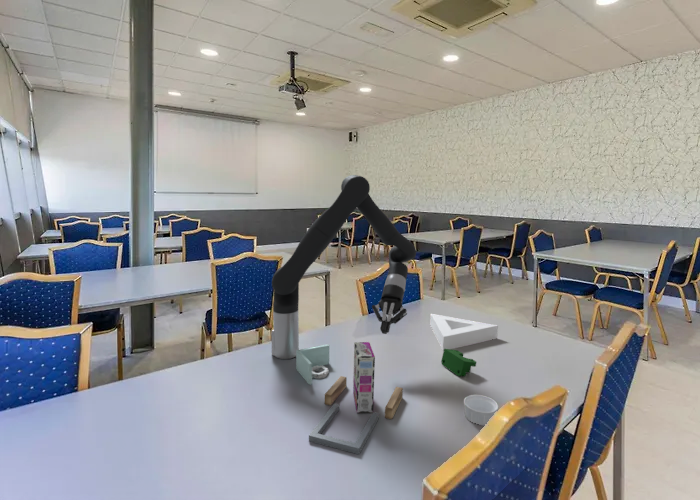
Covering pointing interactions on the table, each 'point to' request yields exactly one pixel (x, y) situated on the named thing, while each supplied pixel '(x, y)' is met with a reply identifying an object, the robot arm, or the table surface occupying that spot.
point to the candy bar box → (363, 377)
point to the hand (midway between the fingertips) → (384, 332)
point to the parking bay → (338, 443)
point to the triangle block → (460, 331)
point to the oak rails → (341, 384)
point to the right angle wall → (312, 362)
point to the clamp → (457, 362)
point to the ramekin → (479, 408)
